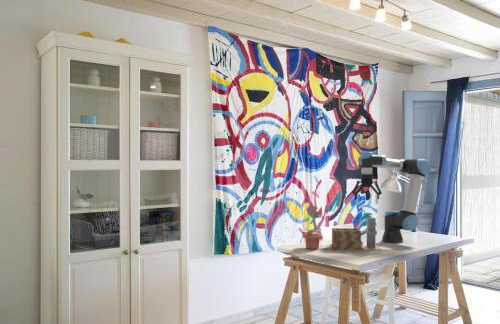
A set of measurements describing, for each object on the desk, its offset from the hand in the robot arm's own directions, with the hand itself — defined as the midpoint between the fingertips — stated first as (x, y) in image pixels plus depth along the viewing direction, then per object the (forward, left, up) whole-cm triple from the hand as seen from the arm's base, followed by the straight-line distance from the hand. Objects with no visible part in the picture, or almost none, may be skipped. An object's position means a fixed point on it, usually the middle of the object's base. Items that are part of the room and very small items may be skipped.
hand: (366, 204), depth 304 cm
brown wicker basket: (+15, +3, -31) cm, 34 cm away
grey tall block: (-2, +3, -30) cm, 30 cm away
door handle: (+7, -16, -31) cm, 36 cm away
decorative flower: (+38, +6, -31) cm, 49 cm away
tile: (-2, +3, -31) cm, 31 cm away
